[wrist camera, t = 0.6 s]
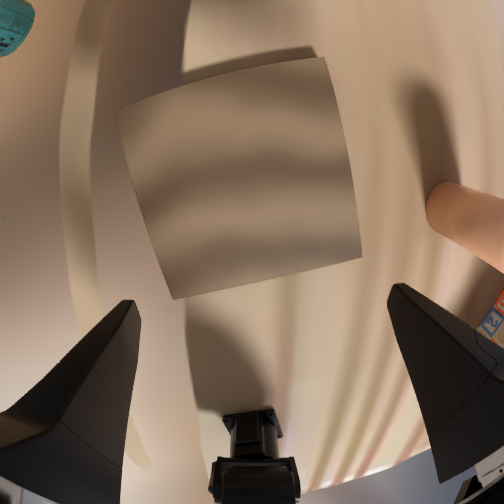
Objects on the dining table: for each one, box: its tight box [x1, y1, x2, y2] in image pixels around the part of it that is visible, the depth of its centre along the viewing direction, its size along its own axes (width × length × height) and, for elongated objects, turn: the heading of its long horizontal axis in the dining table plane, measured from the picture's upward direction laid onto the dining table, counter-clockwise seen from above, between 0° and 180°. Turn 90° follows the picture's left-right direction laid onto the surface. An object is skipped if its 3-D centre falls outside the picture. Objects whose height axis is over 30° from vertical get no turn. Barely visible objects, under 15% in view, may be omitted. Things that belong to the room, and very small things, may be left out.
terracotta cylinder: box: [426, 182, 504, 274], centre depth 18 cm, size 5×5×10 cm
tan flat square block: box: [114, 57, 362, 300], centre depth 21 cm, size 16×16×2 cm
